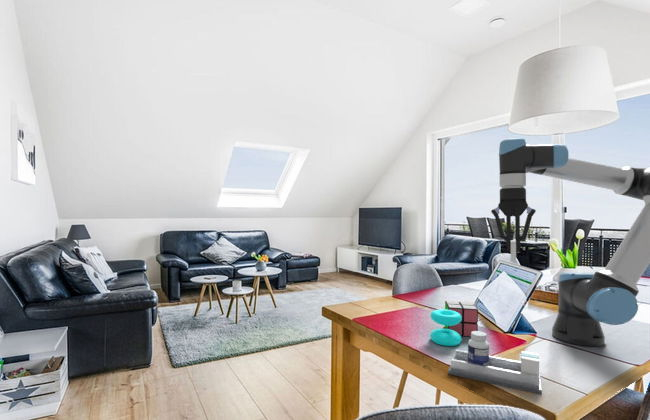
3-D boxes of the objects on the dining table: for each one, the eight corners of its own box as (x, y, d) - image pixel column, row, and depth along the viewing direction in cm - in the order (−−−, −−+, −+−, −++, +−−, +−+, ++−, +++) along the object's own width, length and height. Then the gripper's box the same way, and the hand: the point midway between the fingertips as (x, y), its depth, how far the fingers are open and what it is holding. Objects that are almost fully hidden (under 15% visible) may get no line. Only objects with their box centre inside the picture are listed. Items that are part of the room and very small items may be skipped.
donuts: (455, 308, 129) (466, 317, 119) (455, 336, 129) (466, 347, 119) (427, 308, 129) (435, 316, 119) (426, 336, 129) (435, 347, 119)
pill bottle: (466, 363, 105) (466, 329, 105) (486, 364, 104) (486, 330, 104) (469, 371, 100) (470, 335, 100) (490, 373, 99) (491, 337, 98)
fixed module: (538, 376, 97) (538, 353, 97) (539, 385, 93) (539, 361, 92) (520, 372, 99) (521, 350, 99) (520, 381, 94) (521, 357, 94)
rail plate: (539, 376, 100) (539, 363, 100) (541, 394, 90) (541, 380, 90) (454, 359, 110) (454, 347, 110) (448, 374, 100) (448, 361, 100)
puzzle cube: (477, 337, 128) (478, 309, 128) (447, 335, 130) (448, 307, 130) (472, 328, 138) (472, 302, 138) (444, 326, 140) (444, 300, 140)
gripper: (535, 187, 118) (535, 260, 118) (490, 188, 124) (491, 258, 124) (536, 186, 111) (537, 263, 112) (489, 187, 117) (490, 261, 117)
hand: (513, 260), depth 118 cm, fingers closed
